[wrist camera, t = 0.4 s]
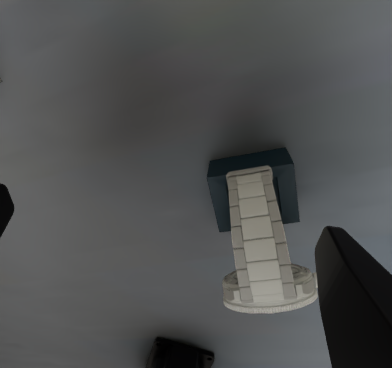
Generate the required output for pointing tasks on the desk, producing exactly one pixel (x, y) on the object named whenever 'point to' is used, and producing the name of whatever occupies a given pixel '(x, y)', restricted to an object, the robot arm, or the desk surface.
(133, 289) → the desk surface
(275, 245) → the watch
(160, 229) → the desk surface
